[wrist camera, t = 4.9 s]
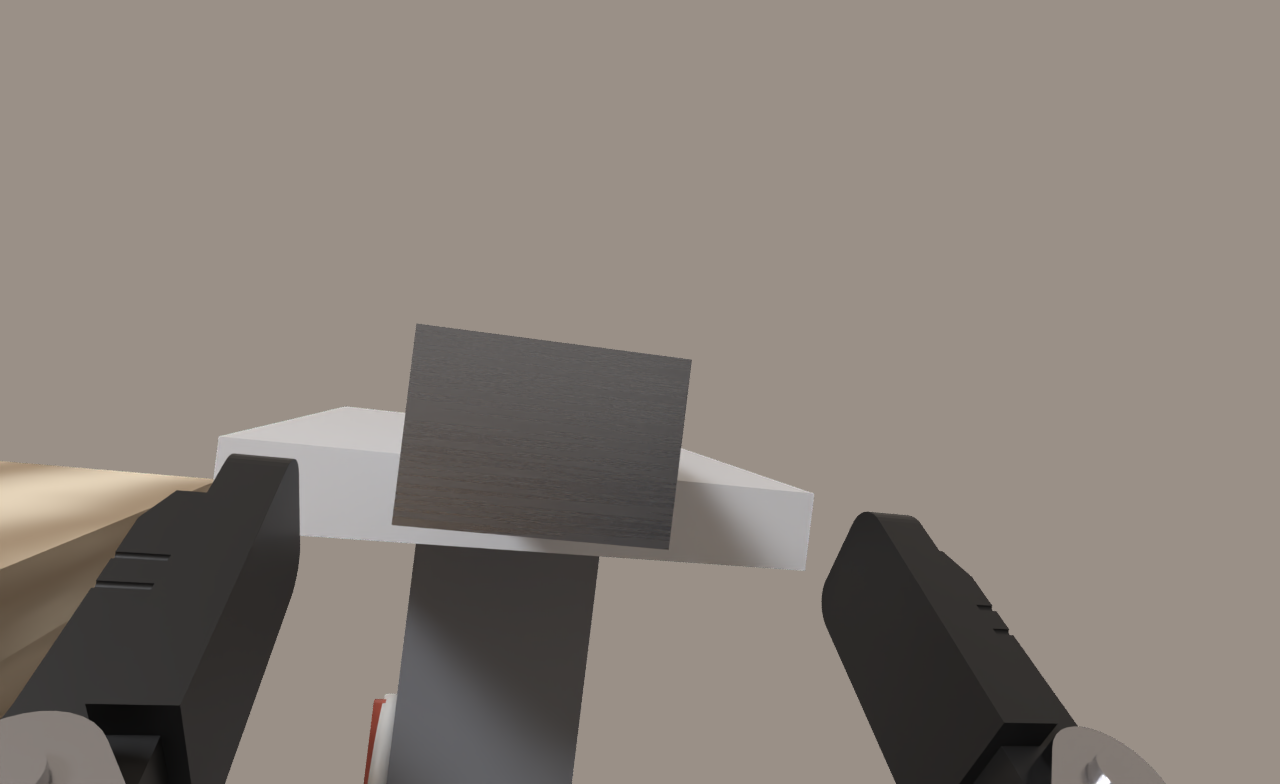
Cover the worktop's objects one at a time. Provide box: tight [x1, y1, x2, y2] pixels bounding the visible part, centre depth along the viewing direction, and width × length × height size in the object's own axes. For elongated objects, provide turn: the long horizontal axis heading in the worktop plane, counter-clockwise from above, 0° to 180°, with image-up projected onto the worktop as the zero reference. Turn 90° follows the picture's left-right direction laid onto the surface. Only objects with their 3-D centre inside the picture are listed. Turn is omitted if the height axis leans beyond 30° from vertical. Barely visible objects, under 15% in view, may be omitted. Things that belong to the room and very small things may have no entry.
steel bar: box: [392, 324, 692, 550], centre depth 21 cm, size 4×24×2 cm, turn 9°
